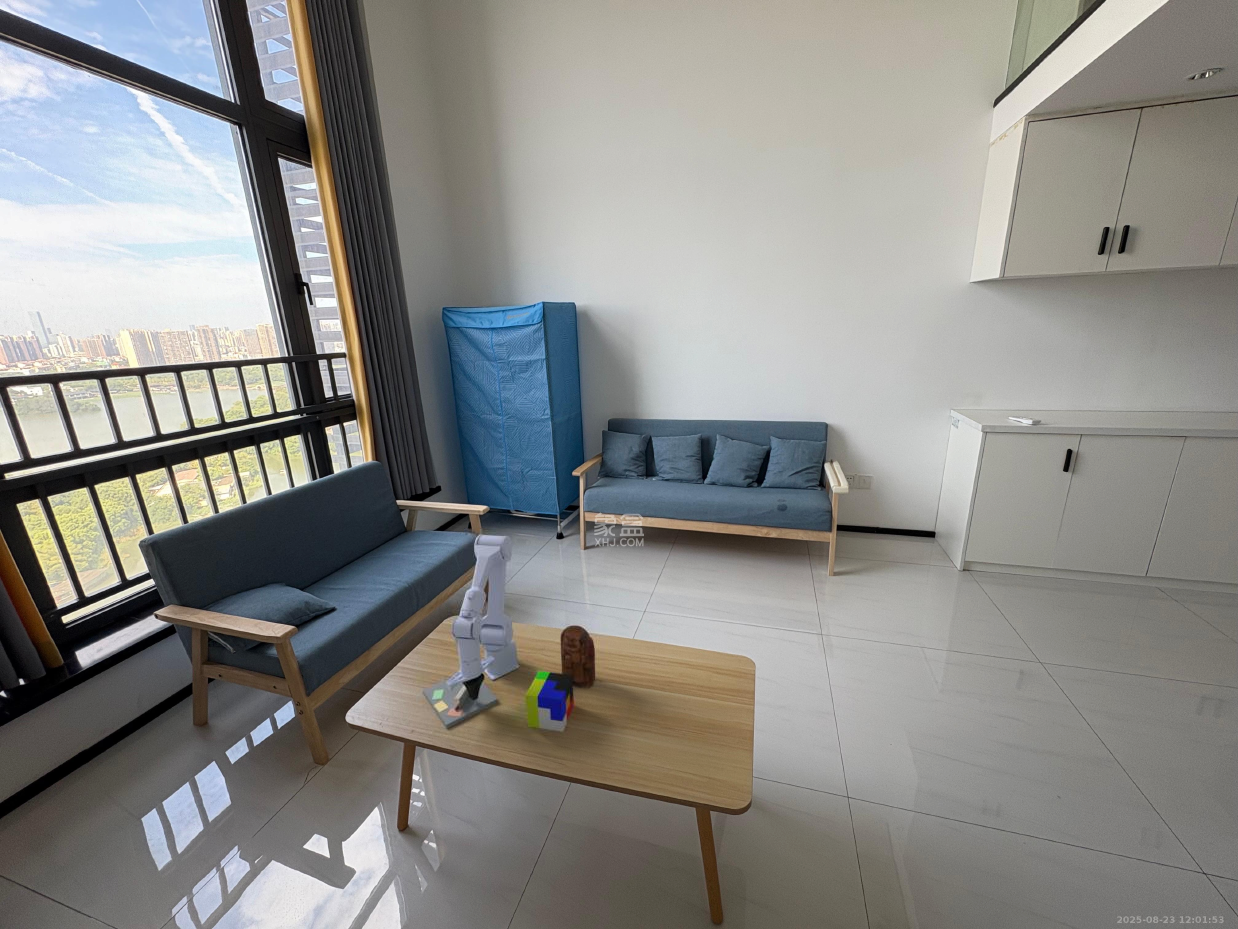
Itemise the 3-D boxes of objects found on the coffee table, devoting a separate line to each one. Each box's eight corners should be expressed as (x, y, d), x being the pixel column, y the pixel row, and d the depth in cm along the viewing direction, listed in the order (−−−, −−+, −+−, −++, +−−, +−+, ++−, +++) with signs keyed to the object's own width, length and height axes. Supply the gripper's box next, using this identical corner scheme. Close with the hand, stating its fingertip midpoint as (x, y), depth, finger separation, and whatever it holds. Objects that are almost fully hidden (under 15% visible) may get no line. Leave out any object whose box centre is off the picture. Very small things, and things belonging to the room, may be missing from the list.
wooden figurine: (555, 683, 149) (553, 630, 145) (564, 670, 155) (561, 619, 150) (592, 691, 145) (590, 637, 141) (599, 677, 151) (598, 625, 147)
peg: (466, 685, 147) (465, 675, 146) (479, 686, 146) (478, 677, 145) (449, 710, 137) (448, 700, 136) (462, 711, 136) (461, 702, 135)
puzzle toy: (563, 732, 130) (561, 700, 128) (527, 726, 132) (525, 695, 130) (573, 705, 140) (572, 675, 138) (540, 700, 142) (538, 670, 140)
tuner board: (471, 671, 155) (470, 668, 154) (497, 702, 141) (497, 698, 141) (423, 693, 145) (422, 689, 145) (446, 728, 132) (446, 724, 132)
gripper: (483, 638, 144) (486, 678, 147) (438, 663, 133) (443, 705, 136) (498, 647, 139) (501, 688, 143) (452, 674, 129) (457, 717, 132)
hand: (474, 697), depth 139 cm, fingers closed
